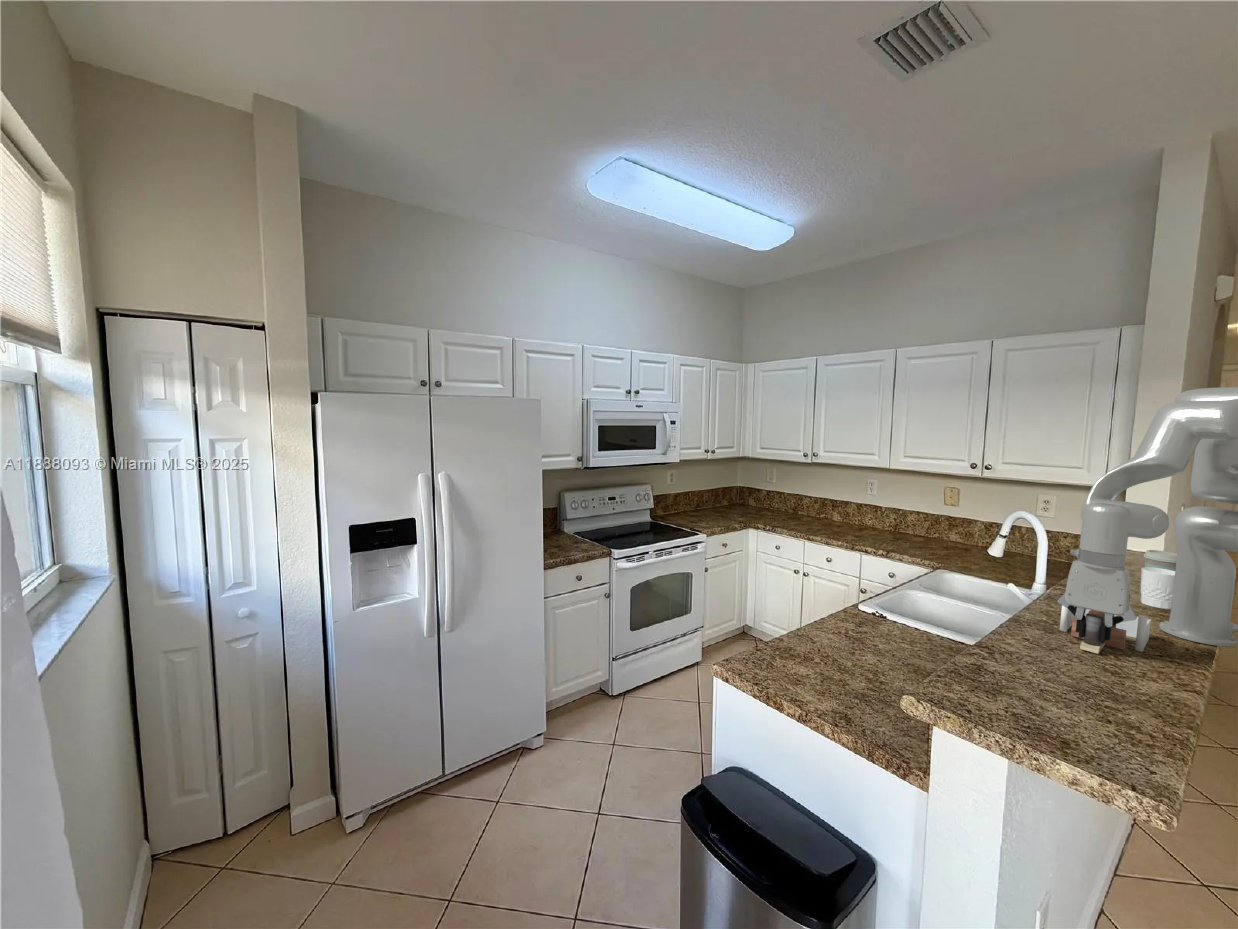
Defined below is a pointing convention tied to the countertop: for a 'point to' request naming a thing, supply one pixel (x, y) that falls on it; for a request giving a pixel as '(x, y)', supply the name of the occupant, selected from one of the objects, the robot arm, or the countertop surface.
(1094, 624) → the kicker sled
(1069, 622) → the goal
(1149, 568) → the white cup
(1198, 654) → the countertop surface
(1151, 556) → the coffee cup
